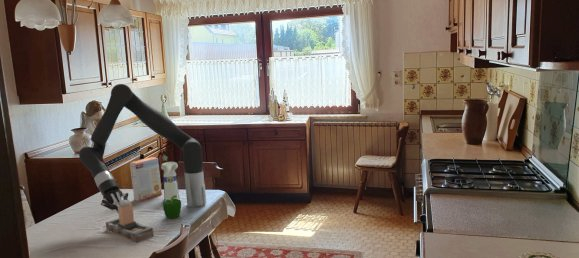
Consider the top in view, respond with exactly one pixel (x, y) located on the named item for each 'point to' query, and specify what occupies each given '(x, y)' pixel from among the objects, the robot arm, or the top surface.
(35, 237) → the top surface
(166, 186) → the white bottle
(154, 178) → the cracker box
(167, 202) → the bell pepper
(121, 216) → the slider tab
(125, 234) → the fader track
